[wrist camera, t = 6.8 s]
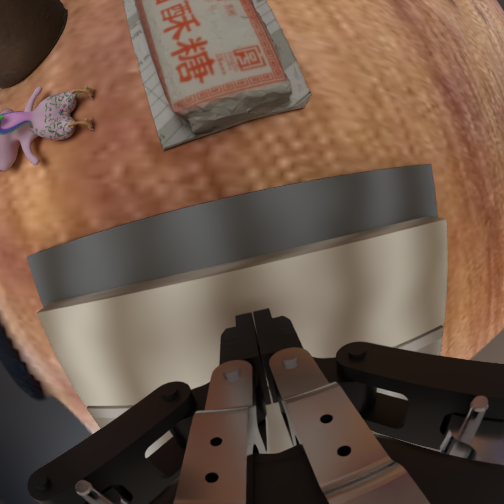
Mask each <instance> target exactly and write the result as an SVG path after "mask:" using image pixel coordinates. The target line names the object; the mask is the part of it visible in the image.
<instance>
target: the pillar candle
mask: <svg viewBox="0 0 504 504" xmlns="http://www.w3.org/2000/svg"><path fill="white" fill-rule="evenodd" d="M66 17H67V9H65V8H64V7H63V4H62V3H61V2H60V0H0V88H7V87H11V86H13V85H15V84H16V83H18V82H20V81H21V80H23V79H24V78H25V77H26V76H27V75H28V74H29V73H30V72H31V71H32V70H33V69H34V68H35V67H36V66H37V65H38V64H39V63H40V62H41V61H42V60H43V59H44V58H45V57H46V56H47V54H48V53H49V52H50V50H51V49H52V48H53V46H54V45H55V43H56V41H57V40H58V39H59V36H60V35H61V32H62V30H63V28H64V25H65V21H66Z"/></svg>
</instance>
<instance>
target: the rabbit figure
mask: <svg viewBox="0 0 504 504" xmlns="http://www.w3.org/2000/svg"><path fill="white" fill-rule="evenodd" d="M92 90H93V89H92V88H88V86H86V89H72V90H71V91H68V92H64V93H59V94H54V95H51V96H49V97H47V98H45V99H44V100H43V101H42V102H40V103H39V105H38V106H37V107H36V109H35V110H34V111H32V108H33V104H34V101H35V99H36V97H37V96H38V95H39V94H40V92H41V91H42V87H41V86H38V87H37V88H36V89H35V91H34V92H33V94H32V95H31V97H30V99H29V101H28V103H27V105H26V107H25V110H24V112H20V111H19V112H14V111H13V110H11V109H5V110H4V111H2V112H1V113H0V170H1V171H6V170H8V169H9V168H10V167H11V166H12V165H13V163H14V162H15V160H16V157H17V154H18V148H19V147H20V143H21V146H22V149H23V151H24V153H25V155H26V157H27V158H28V160H29V161H30V162H31V163H32V164H34V165H37V164H38V163H39V158H38V157H37V156H35V155H33V153H32V150H31V142H32V141H33V140H34V139H35V138H36V137H38V136H40V137H43V138H46V139H49V140H62V139H66V138H68V137H70V136H71V135H72V134H73V133H74V131H75V128H76V125H78V124H84V125H86V126H88V128H89V129H90V130H94V129H91V128H92V127H94V126H93V125H92V120H91V119H92V118H91V119H89V120H87V119H85V120H84V121H79V122H75V120H74V119H73V118H72V117H71V116H70V114H71V112H72V111H73V110H74V109H75V107H76V98H75V97H76V95H77V94H78V93H81V92H84V93H86V94H88V95H89V97H90V99H91V100H94V99H92V97H91V96H92V95H94V94H92V92H93V91H92Z"/></svg>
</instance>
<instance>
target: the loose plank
mask: <svg viewBox="0 0 504 504" xmlns="http://www.w3.org/2000/svg"><path fill="white" fill-rule="evenodd" d="M447 264H448V257H447V226H446V219H443V218H438V217H432V216H426V217H422V218H418V219H414V220H409V221H405V222H401V223H397V224H393V225H388V226H384V227H380V228H376V229H372V230H367V231H363V232H359V233H355V234H350V235H346V236H342V237H338V238H333V239H329V240H325V241H321V242H316V243H312V244H308V245H303V246H299V247H295V248H291V249H286V250H282V251H278V252H273V253H269V254H265V255H260V256H256V257H252V258H247V259H243V260H239V261H234V262H230V263H225V264H221V265H217V266H212V267H208V268H204V269H199V270H195V271H190V272H186V273H182V274H177V275H173V276H168V277H164V278H159V279H155V280H150V281H146V282H142V283H137V284H133V285H128V286H124V287H119V288H115V289H110V290H106V291H101V292H97V293H92V294H88V295H83V296H78V297H74V298H69V299H65V300H60V301H56V302H51V303H50V304H48V305H47V306H45V307H44V308H43V309H41V310H40V311H39V312H37V315H38V317H39V320H40V322H41V324H42V327H43V329H44V331H45V333H46V336H47V338H48V340H49V342H50V344H51V346H52V348H53V350H54V352H55V354H56V356H57V358H58V360H59V362H60V364H61V366H62V368H63V370H64V372H65V373H66V375H67V377H68V379H69V380H70V382H71V384H72V386H73V387H74V389H75V391H76V392H77V394H78V395H79V397H80V399H81V400H82V402H83V403H84V405H85V406H124V405H135V404H137V403H138V402H139V401H141V400H142V399H143V398H145V397H146V396H147V395H149V394H150V393H151V392H153V391H154V390H156V389H157V388H158V387H160V386H161V385H163V384H166V383H169V382H174V381H180V382H184V383H186V384H188V385H189V387H190V388H191V389H194V388H197V387H200V386H202V385H205V384H207V383H209V382H210V380H211V375H212V372H213V371H214V369H215V368H216V367H218V366H219V360H220V343H221V342H220V340H221V334H222V333H223V332H224V330H225V329H226V328H231V327H236V322H235V315H240V314H245V313H249V312H252V316H253V320H254V315H253V311H258V310H262V309H266V308H269V310H270V313H271V316H272V318H275V317H279V316H285V317H287V318H288V319H290V320H291V322H292V324H293V327H294V329H295V331H296V333H297V335H298V337H299V340H300V342H301V344H302V346H303V348H304V349H305V350H307V351H308V352H309V353H310V354H311V356H312V357H316V358H333V357H336V353H337V351H338V350H339V349H340V348H341V347H342V346H344V345H346V344H349V343H352V342H359V341H361V342H369V343H374V344H378V345H383V346H388V347H394V346H397V345H399V344H401V343H404V342H406V341H408V340H411V339H413V338H415V337H417V336H419V335H422V334H424V333H426V332H428V331H430V330H432V329H434V328H436V327H438V326H440V325H442V324H444V320H445V309H446V295H447ZM254 324H255V321H254ZM255 328H256V326H255ZM256 332H257V331H256ZM266 378H267V377H266ZM267 383H268V381H267ZM268 386H269V384H268Z"/></svg>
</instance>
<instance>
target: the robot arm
mask: <svg viewBox="0 0 504 504" xmlns="http://www.w3.org/2000/svg"><path fill="white" fill-rule="evenodd" d="M253 315H254V320H253V316H252V312H249V313H245V314H240V315H235V322H236V327H231V328H226V329H225V330H224V332H223V333H222V334H221V340H220V342H221V343H220V360H219V366H218V367H216V368H215V369H214V371H213V372H212V375H211V380H210V382H209V383H207V384H205V385H202V386H200V387H197V388H194V389H191V388H190V387H189V385H188V384H186V383H184V382H180V381H174V382H169V383H166V384H163V385H161V386H160V387H158V388H157V389H156V390H154V391H153V392H151V393H150V394H149V395H147V396H146V397H145V398H143V399H142V400H141V401H139V402H138V403H137V404H135V405H134V406H132V407H131V408H130V409H128V410H127V411H125V412H124V413H123V414H121V415H120V416H118V417H117V418H116V419H114V420H113V421H111V422H110V423H108V424H107V425H106V426H104V427H103V428H101V429H100V430H98V431H97V432H95V433H94V434H92V435H91V436H90V437H88V438H87V439H85V440H84V441H82V442H81V443H79V444H78V445H76V446H74V447H73V448H71V449H70V450H68V451H67V452H65V453H64V454H62V455H61V456H59V457H57V458H56V459H54V460H53V461H51V462H49V463H48V464H46V465H44V466H43V467H41V468H39V469H38V470H36V471H35V472H34V473H33V474H32V475H31V476H30V478H29V480H28V485H27V486H28V491H29V494H30V495H31V496H32V497H33V498H34V499H35V500H37V501H38V502H39V503H40V504H504V364H497V363H489V362H480V361H472V360H465V359H458V358H451V357H444V356H438V355H432V354H426V353H420V352H415V351H409V350H404V349H398V348H393V347H388V346H383V345H378V344H374V343H369V342H361V341H359V342H352V343H349V344H346V345H344V346H342V347H341V348H340V349H339V350H338V351H337V353H336V357H333V358H316V357H312V356H311V354H310V353H309V352H308V351H307V350H305V349H304V348H303V346H302V344H301V342H300V340H299V337H298V335H297V333H296V331H295V329H294V327H293V324H292V322H291V320H290V319H288V318H287V317H285V316H279V317H275V318H272V316H271V313H270V310H269V308H266V309H262V310H258V311H253ZM254 321H255V324H254ZM255 326H256V328H255ZM256 331H257V332H256ZM266 377H267V378H266ZM267 381H268V383H267ZM268 384H269V388H270V392H271V396H272V400H273V403H279V407H280V411H281V415H282V419H283V422H284V424H285V427H286V430H287V433H288V436H289V438H290V441H291V444H292V447H291V448H289V449H287V450H285V451H282V452H280V453H274V454H270V448H269V432H268V420H267V416H266V415H267V409H266V405H269V404H272V403H271V398H270V393H269V388H268ZM377 388H380V389H384V390H388V391H392V392H396V393H400V394H402V395H404V396H405V397H406V398H407V399H408V400H405V399H401V398H397V397H393V396H389V395H385V394H382V393H378V392H377ZM168 431H170V433H171V434H172V436H173V437H172V438H170V439H169V440H168V441H167V442H166V443H165V444H163V445H162V446H161V447H160V448H159V449H157V450H156V451H155V452H154V453H152V454H151V455H150V456H149V457H147V458H145V452H146V450H147V449H148V447H150V446H151V445H152V444H153V443H154V442H156V441H157V440H158V439H159V438H161V437H162V436H163V435H164V434H165V433H167V432H168ZM372 431H375V432H377V433H380V434H384V435H387V436H390V437H387V436H382V435H375V434H373V433H372ZM391 437H393V438H391ZM394 438H396V439H394ZM397 439H400V440H404V441H407V442H410V443H414V444H418V445H422V446H426V447H430V448H434V449H439V450H441V452H437V451H433V450H430V449H426V448H422V447H420V446H416V445H413V444H410V443H407V442H403V441H400V440H397Z"/></svg>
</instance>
